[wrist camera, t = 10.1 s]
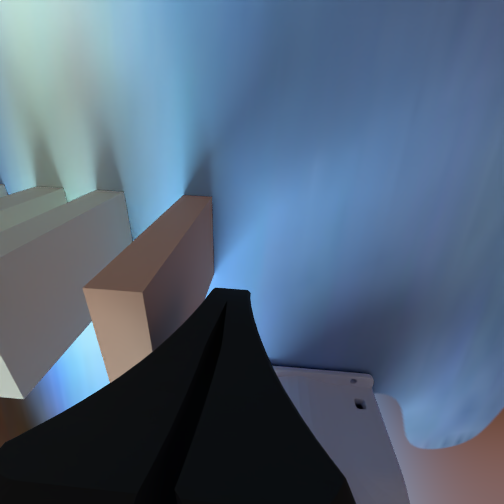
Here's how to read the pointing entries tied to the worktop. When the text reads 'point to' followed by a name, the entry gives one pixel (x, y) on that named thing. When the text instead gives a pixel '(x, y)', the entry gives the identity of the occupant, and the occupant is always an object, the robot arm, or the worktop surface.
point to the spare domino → (153, 284)
